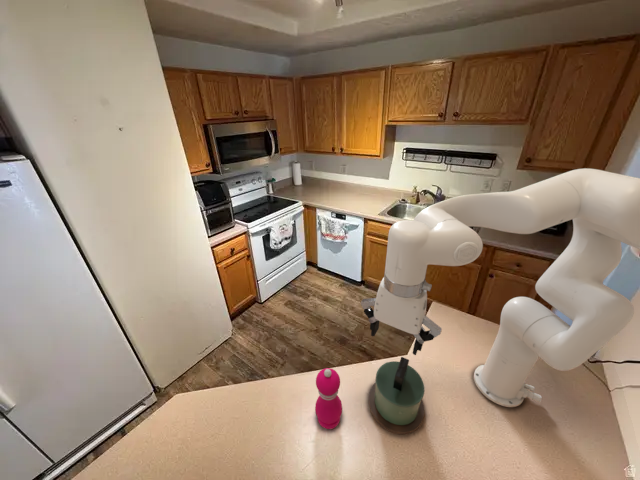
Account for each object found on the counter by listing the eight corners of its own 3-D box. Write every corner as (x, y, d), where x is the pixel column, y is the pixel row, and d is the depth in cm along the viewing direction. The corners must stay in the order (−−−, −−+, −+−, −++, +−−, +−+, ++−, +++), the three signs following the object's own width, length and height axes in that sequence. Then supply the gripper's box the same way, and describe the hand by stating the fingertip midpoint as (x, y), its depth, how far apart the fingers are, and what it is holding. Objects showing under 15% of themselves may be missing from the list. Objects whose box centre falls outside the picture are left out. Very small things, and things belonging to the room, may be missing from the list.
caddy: (423, 393, 74) (432, 358, 67) (413, 436, 65) (423, 401, 58) (381, 373, 80) (385, 340, 73) (367, 410, 71) (370, 376, 63)
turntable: (428, 394, 75) (428, 391, 75) (417, 447, 64) (417, 444, 64) (378, 371, 82) (378, 368, 82) (360, 415, 71) (360, 413, 70)
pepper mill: (340, 434, 67) (340, 388, 58) (313, 428, 69) (309, 382, 59) (343, 405, 73) (344, 359, 64) (318, 401, 75) (316, 355, 65)
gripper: (453, 285, 50) (437, 345, 58) (370, 260, 58) (366, 316, 66) (446, 309, 44) (430, 371, 52) (355, 278, 53) (353, 336, 61)
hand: (394, 340), depth 59 cm, fingers open, 9 cm apart
